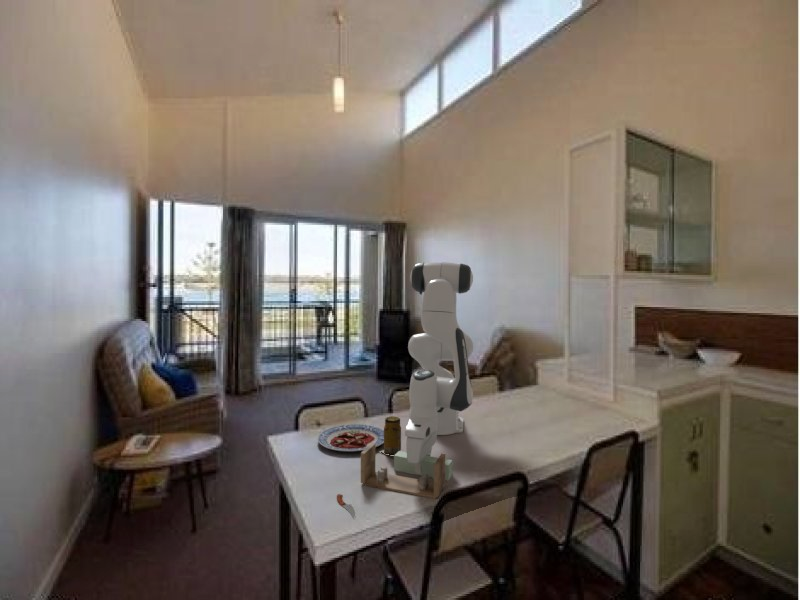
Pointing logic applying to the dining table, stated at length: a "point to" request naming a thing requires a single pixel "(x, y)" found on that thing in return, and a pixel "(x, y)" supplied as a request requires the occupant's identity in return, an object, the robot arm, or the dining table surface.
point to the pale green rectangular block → (426, 463)
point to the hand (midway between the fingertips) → (423, 466)
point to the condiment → (392, 436)
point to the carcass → (398, 482)
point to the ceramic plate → (351, 437)
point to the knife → (347, 506)
